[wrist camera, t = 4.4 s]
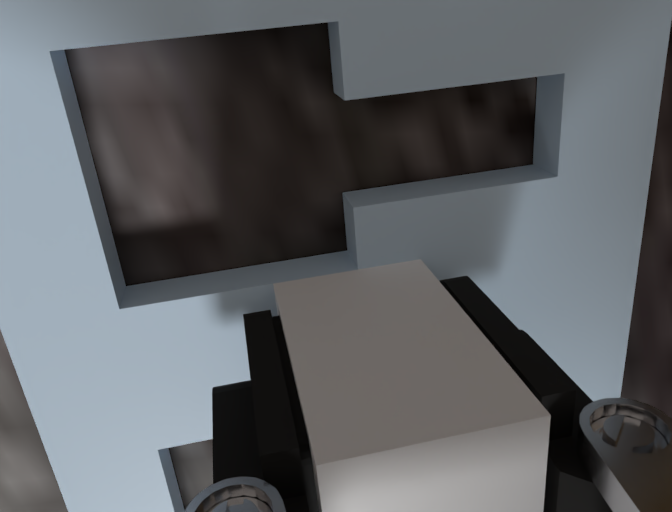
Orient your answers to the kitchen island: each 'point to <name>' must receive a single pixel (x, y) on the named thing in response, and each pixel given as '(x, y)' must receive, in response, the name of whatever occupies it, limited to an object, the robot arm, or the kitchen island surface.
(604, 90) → the panel
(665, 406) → the kitchen island surface
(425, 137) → the kitchen island surface
